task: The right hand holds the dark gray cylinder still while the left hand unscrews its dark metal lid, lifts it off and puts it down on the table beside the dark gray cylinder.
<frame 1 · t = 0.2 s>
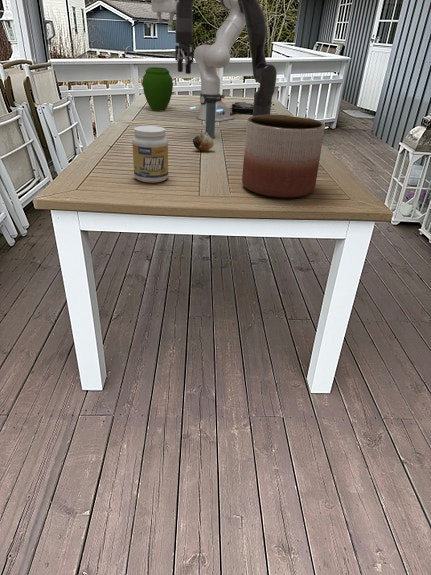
left hand: (165, 23, 208), 48 cm above the table, tool pointing down, fingers open, 8 cm apart
right hand: (184, 72, 185), 29 cm above the table, tool pointing down, fingers open, 8 cm apart
dark gray cylinder: (209, 137, 207), on the table
supplement tub: (151, 178, 146), on the table
lid: (211, 98, 198), point 18 cm above the table, screwed on, not yet turned
sign: (245, 110, 283), on the table
seashell: (203, 151, 183), on the table
planter: (277, 188, 144), on the table
vase: (158, 110, 268), on the table
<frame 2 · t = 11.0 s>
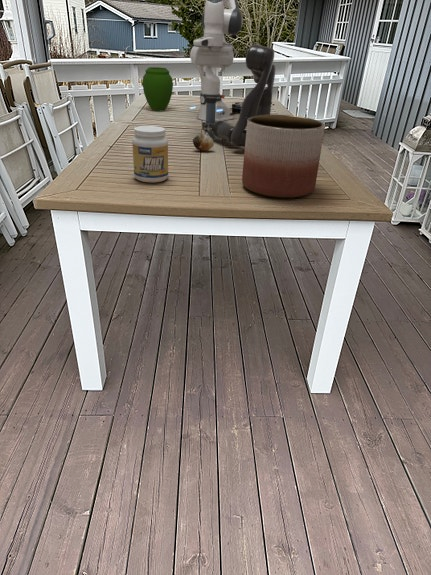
left hand: (212, 76, 192), 28 cm above the table, tool pointing down, fingers open, 7 cm apart
right hand: (207, 123, 206), 6 cm above the table, tool horizontal, fingers closed on dark gray cylinder, 4 cm apart
dark gray cylinder: (209, 137, 207), on the table, touching right hand
everything else where it was.
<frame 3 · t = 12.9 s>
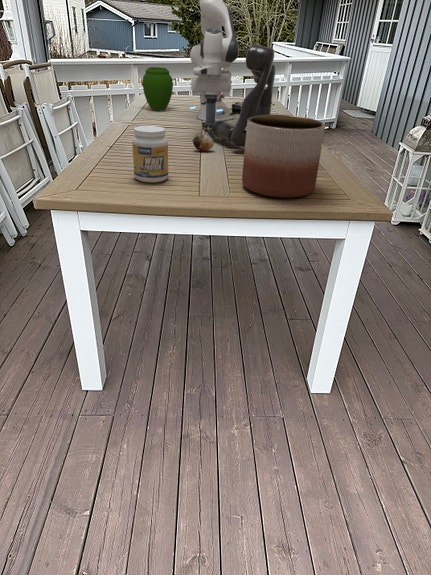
left hand: (210, 102, 198), 17 cm above the table, tool pointing down, fingers closed on lid, 5 cm apart
right hand: (207, 123, 206), 6 cm above the table, tool horizontal, fingers closed on dark gray cylinder, 4 cm apart
dark gray cylinder: (209, 137, 207), on the table, touching right hand
lid: (211, 98, 198), point 18 cm above the table, screwed on, not yet turned, touching left hand
everything else where it was.
when the left hand's fingers open (17 cm above the table, at t = 14.0 s): lid stays where it is, point 18 cm above the table.
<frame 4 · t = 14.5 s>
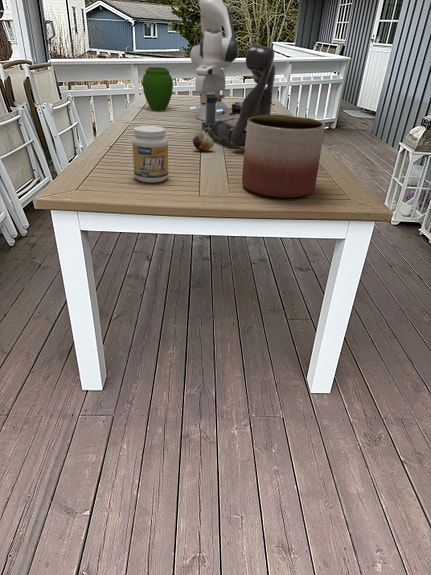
left hand: (210, 101, 198), 17 cm above the table, tool pointing down, fingers open, 7 cm apart
right hand: (207, 123, 206), 6 cm above the table, tool horizontal, fingers closed on dark gray cylinder, 4 cm apart
dark gray cylinder: (209, 137, 207), on the table, touching right hand
lid: (211, 97, 197), point 18 cm above the table, turned 49° so far, risen 0.2 cm, still on its thread
everything else where it was.
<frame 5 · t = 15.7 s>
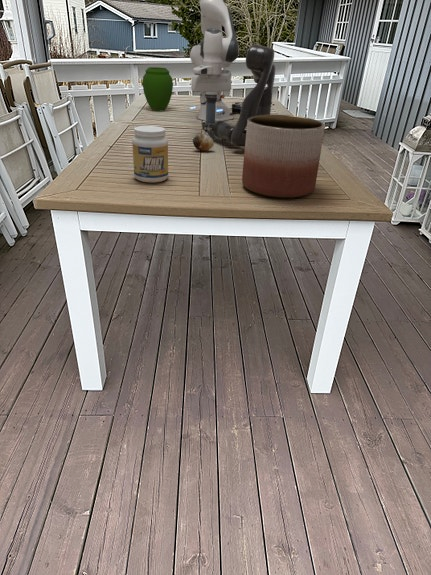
left hand: (211, 101, 198), 17 cm above the table, tool pointing down, fingers closed on lid, 5 cm apart
right hand: (207, 123, 206), 6 cm above the table, tool horizontal, fingers closed on dark gray cylinder, 4 cm apart
dark gray cylinder: (209, 137, 207), on the table, touching right hand
lid: (211, 97, 197), point 18 cm above the table, turned 49° so far, risen 0.2 cm, still on its thread, touching left hand
everything else where it was.
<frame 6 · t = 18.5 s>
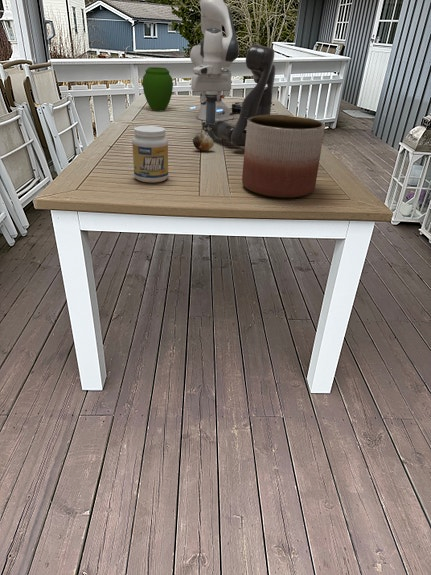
left hand: (211, 101, 198), 17 cm above the table, tool pointing down, fingers closed on lid, 5 cm apart
right hand: (207, 123, 206), 6 cm above the table, tool horizontal, fingers closed on dark gray cylinder, 4 cm apart
dark gray cylinder: (209, 137, 207), on the table, touching right hand
lid: (211, 97, 197), point 19 cm above the table, turned 98° so far, risen 0.3 cm, still on its thread, touching left hand
everything else where it was.
when the left hand's fingers open (2 cm above the table, at t = 25.8 s): lid drops 2 cm, point 2 cm above the table.
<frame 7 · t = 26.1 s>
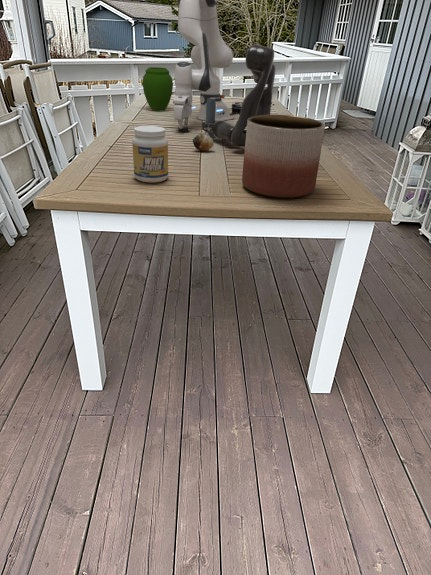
left hand: (183, 126, 216), 2 cm above the table, tool pointing down, fingers open, 8 cm apart
right hand: (207, 123, 206), 6 cm above the table, tool horizontal, fingers closed on dark gray cylinder, 4 cm apart
dark gray cylinder: (209, 137, 207), on the table, touching right hand
lid: (183, 127, 216), point 2 cm above the table, off its thread
everything else where it was.
when the right hand's fingers open (6 cm above the table, at t = 26.9 s): dark gray cylinder stays where it is, on the table.
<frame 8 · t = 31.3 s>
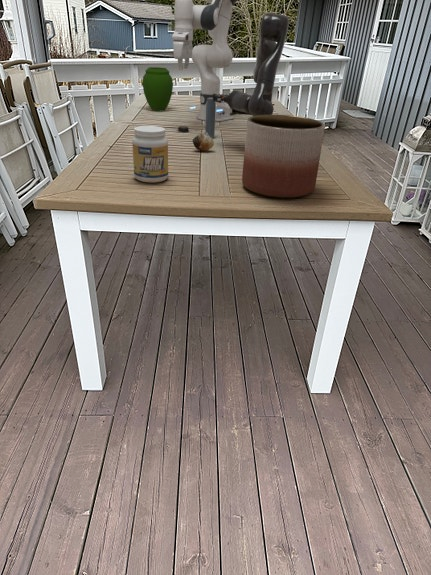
left hand: (183, 69, 202), 29 cm above the table, tool pointing down, fingers open, 8 cm apart
right hand: (221, 96, 189), 20 cm above the table, tool horizontal, fingers open, 8 cm apart
dark gray cylinder: (209, 137, 207), on the table
everything else where it was.
at the end: lid came off its thread; lid point 1.6 cm above the table; the left hand is holding nothing; the right hand is holding nothing; dark gray cylinder tilted 0°; dark gray cylinder moved 0.1 cm from its start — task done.
